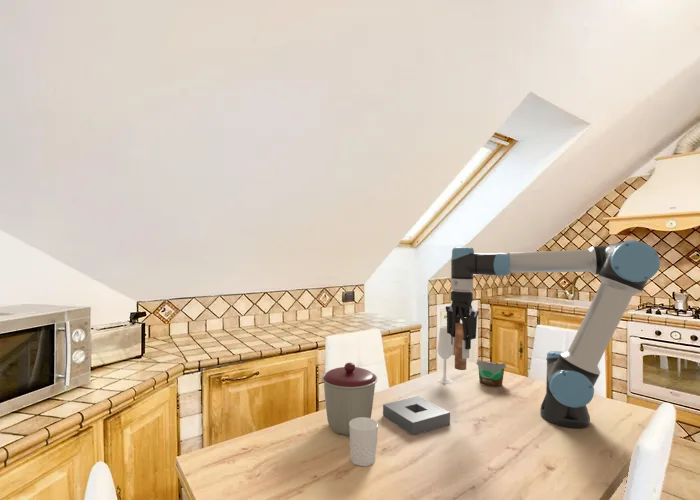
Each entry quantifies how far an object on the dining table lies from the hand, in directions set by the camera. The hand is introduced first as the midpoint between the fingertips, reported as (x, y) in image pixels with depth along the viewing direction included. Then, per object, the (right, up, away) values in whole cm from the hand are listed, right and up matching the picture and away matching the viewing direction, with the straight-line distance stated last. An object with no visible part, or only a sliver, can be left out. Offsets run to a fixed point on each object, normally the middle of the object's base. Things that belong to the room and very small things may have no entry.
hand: (460, 356), depth 135 cm
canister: (-40, -20, -12) cm, 46 cm away
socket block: (-17, -20, -5) cm, 27 cm away
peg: (0, -4, 0) cm, 4 cm away
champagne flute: (+3, -21, +34) cm, 40 cm away
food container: (+21, -21, +30) cm, 43 cm away
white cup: (-36, -20, -30) cm, 51 cm away
